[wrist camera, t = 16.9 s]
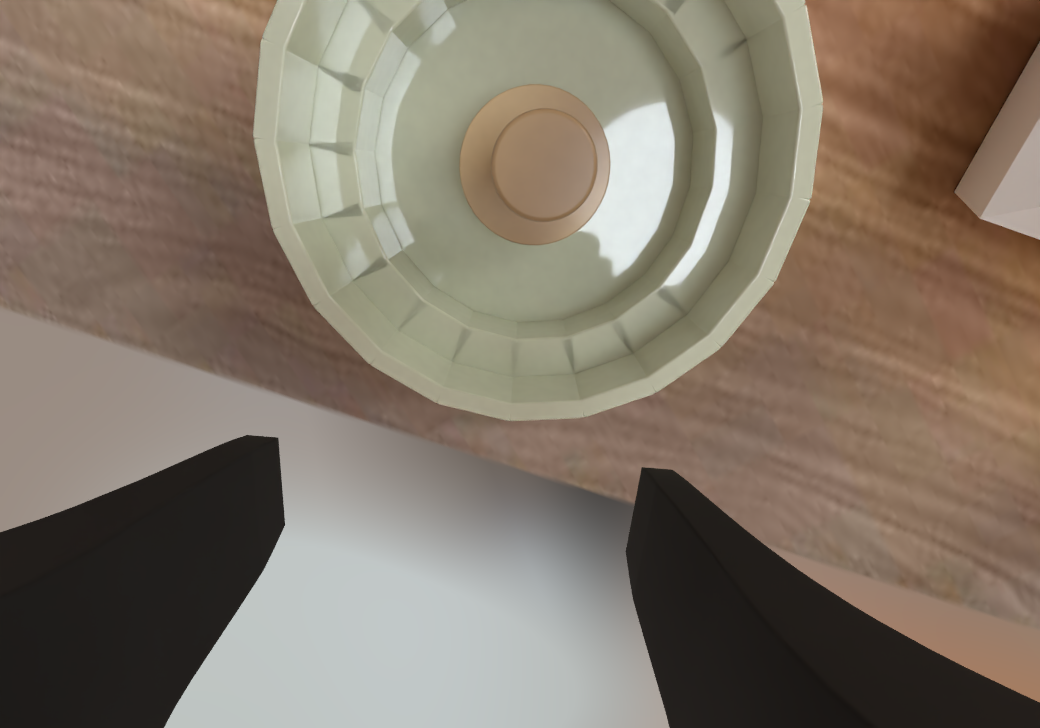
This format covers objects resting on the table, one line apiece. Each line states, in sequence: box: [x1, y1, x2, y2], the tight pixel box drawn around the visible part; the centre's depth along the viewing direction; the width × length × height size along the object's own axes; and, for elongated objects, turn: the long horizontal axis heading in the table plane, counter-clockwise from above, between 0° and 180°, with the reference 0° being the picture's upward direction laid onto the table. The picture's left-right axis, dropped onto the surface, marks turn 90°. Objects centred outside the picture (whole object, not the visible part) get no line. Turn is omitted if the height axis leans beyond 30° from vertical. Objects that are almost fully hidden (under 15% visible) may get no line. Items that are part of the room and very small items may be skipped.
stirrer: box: [459, 84, 610, 245], centre depth 13 cm, size 4×4×10 cm
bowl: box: [253, 0, 823, 421], centre depth 16 cm, size 14×14×5 cm
